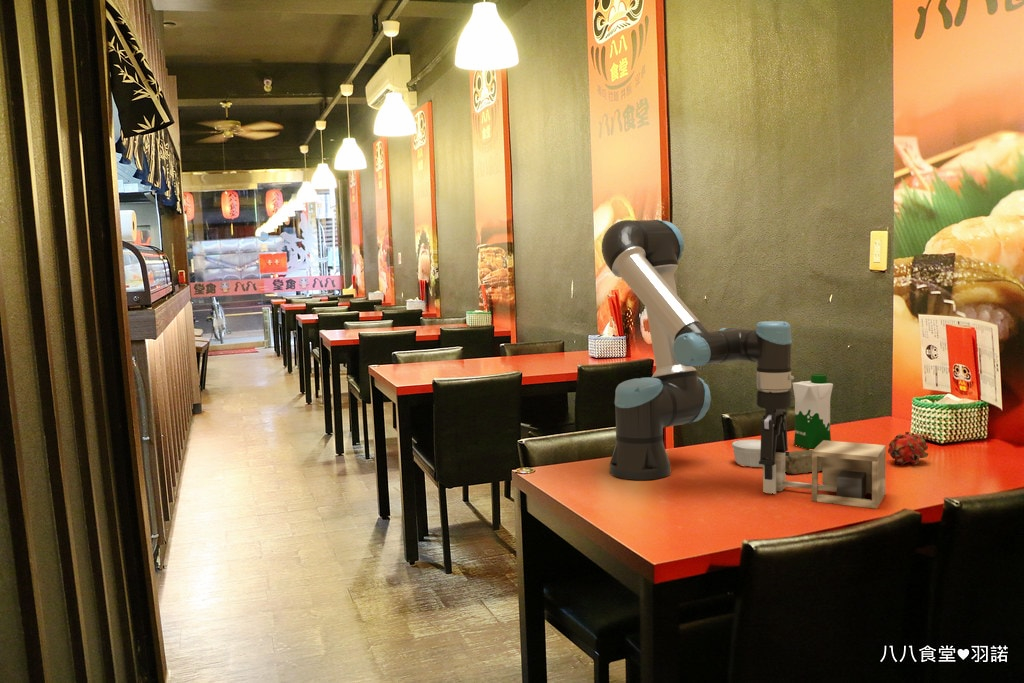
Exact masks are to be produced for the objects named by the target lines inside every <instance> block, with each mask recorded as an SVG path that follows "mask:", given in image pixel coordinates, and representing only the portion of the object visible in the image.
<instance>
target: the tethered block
mask: <svg viewBox="0 0 1024 683" xmlns="http://www.w3.org/2000/svg"><path fill="white" fill-rule="evenodd" d="M766 459H769V458H766ZM775 465H776V492H782V491H783V490H784V489H785V488H786V487H789V488H795V489H797V488H798V489H806V490H807V489H808V490H812V482H800V481H789V480H786V473H785V453H780V452H776V454H775ZM818 491H825V492H834V493H836V496H842V497H851V498H860V499H865V498H866V496H867V493H866V473H865V472H855V471H845V470H842V471H841V472H840V473H839V474H838V476H837V486H829V485H822V484H819V483H818Z"/></svg>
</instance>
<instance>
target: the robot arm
mask: <svg viewBox="0 0 1024 683" xmlns="http://www.w3.org/2000/svg"><path fill="white" fill-rule="evenodd" d="M684 248H685V241H684V238H683V235H682V232H681V231H680V229H679V228H678V227H677V226H676V225H675V224H673V223H672V222H671V221H666V220H660V219H651V220H648V219H647V220H644V219H643V220H637V219H636V220H633V219H632V220H631V219H626V220H620V221H617V222H615V223H613V224H612V225H611V226H609V228H608V229H607V231H605V233H604V235H603V237H602V241H601V253H602V254H601V255H602V258H603V260H604V262H605V264H606V266H607V268H609V270H610V271H611V273H612V274H613V275H614V276H615V277H617V278H621V279H623V281H624V282H625V284H627V286H629V289H631V291H632V292H633V293H634V294H635V295H636V297H637V298H638V300H640V302H641V303H642V304H643V306H644V307H645V308H646V309H645V311H646V315H647V316H646V317H647V321H648V327H649V332H650V339H651V346H652V352H653V356H654V364H655V368H656V369H655V371H654V372H653V374H652V376H651V377H649V376H648V377H640V378H638V377H637V378H632V379H628V380H627V379H626V380H624V381H622V382H621V383H619V384H617V386H616V388H615V394H614V395H615V396H614V407H615V408H614V410H615V412H614V413H615V415H614V416H615V445H614V449H613V452H612V456H611V459H610V462H609V473H610V475H612V476H613V477H616V478H620V479H624V480H625V479H626V480H636V481H639V480H641V481H647V480H648V481H649V480H650V481H651V480H658V479H662V478H665V477H668V476H669V475H670V474H671V462H670V459H669V457H668V453H667V451H666V447H665V444H664V439H663V438H664V436H663V435H664V433H663V432H664V431H663V430H664V428H670V427H675V426H680V425H681V426H682V425H689V424H692V423H695V422H699V421H700V420H702V419H703V418H704V417H705V416H706V414H707V412H708V411H709V410H710V406H711V399H712V398H711V397H712V396H711V391H710V390H711V389H710V388H709V385H708V384H707V383H706V382H705V380H704V379H702V377H698V371H697V369H696V368H695V367H702V366H706V365H714V364H722V363H723V364H724V363H731V362H739V361H740V362H753V363H756V388H757V389H758V390H757V391H756V406H758V408H761V409H765V414H764V415H763V418H761V419H760V427H761V429H760V431H761V432H760V440H761V452H760V461H759V464H763V468H762V490H763V491H762V493H763V492H765V493H766V494H772V493H773V494H772V495H776V494H777V491H776V465H775V454H776V452H780V453H785V456H789V452H790V451H789V448H788V447H789V446H788V444H789V443H788V429H787V428H788V427H787V426H788V425H787V422H788V421H787V420H788V419H787V416H788V412H787V410H784V409H788V408H789V409H790V408H791V407H792V404H793V403H792V398H793V397H792V392H791V390H790V389H792V381H793V380H794V379H795V377H794V375H792V343H793V339H792V328H791V324H790V323H789V322H787V321H784V320H780V321H779V320H777V321H776V320H769V321H768V320H767V321H759V322H757V323H756V328H755V329H753V328H752V329H749V328H738V327H723V328H720V329H718V330H710V331H709V330H708V329H707V328H706V327H705V325H703V323H701V321H700V320H699V318H697V317H696V315H695V314H694V313H693V312H692V311H691V309H690V308H689V307H688V306H687V305H686V304H685V303H684V300H682V299H681V297H679V296H678V290H677V285H676V280H675V279H676V278H675V273H676V271H677V269H678V268H679V262H678V261H679V260H681V258H682V257H683V252H684V250H685V249H684ZM766 458H769V459H766ZM765 493H764V494H765Z"/></svg>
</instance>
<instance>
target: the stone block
mask: <svg viewBox="0 0 1024 683" xmlns="http://www.w3.org/2000/svg"><path fill="white" fill-rule="evenodd" d="M812 451H813V450H807V449H804V450H793V451H788V452H789V456H785V472H787V474H791V475H799V474H798V473H803V474H809V473H808V472H812ZM820 471H823V457H820V456H818V473H820Z"/></svg>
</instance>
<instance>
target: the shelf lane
mask: <svg viewBox="0 0 1024 683" xmlns="http://www.w3.org/2000/svg"><path fill="white" fill-rule="evenodd" d="M886 447H887V446H886V444H874V443H864V442H849V441H836V440H831V441H827V440H823V441H822V442H821V443H820V444H819V445H818V446H817V447H816V448H815V449H814V450H813V451H812V473H811V484H812V489H811V502H815V501H817V502H818V503H826V504H832V503H833V504H834V505H842V506H850V507H859V508H865V509H866V508H867V509H868V508H869V509H876V510H877V509H878V508H879V506H880V505H879V504H881V503H882V502H883V499H884V497H885V496H886V466H887V465H886V454H887V453H886V452H887V450H886V449H887V448H886ZM818 456H820V457H823V471H822V472H821V473H822V476H821V477H822V480H821V482H822V484H821V485H829V486H837V476H838V474H839V473H840V472H841V471H842V470H845V471H855V472H865V473H866V494H867V493H871V494H870V495H871V499H867V498H864V499H860V498H851V497H842V496H837V495H833V494H831V495H830V494H825V493H819V492H818V491H819V490H818V484H819V482H818V480H819V478H818V477H819V472H818ZM884 495H885V496H884ZM817 502H816V503H817Z"/></svg>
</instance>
